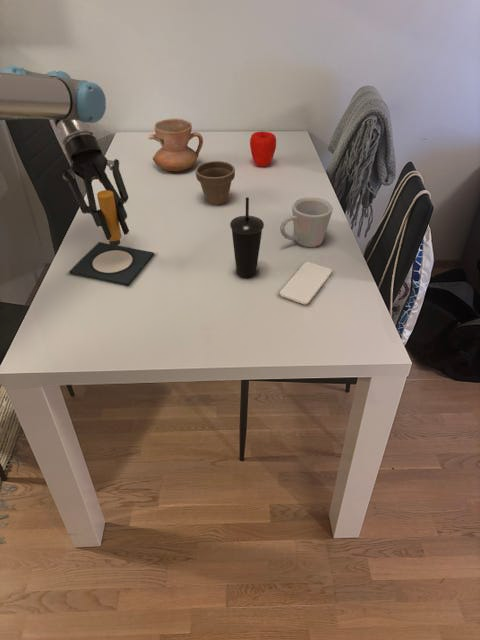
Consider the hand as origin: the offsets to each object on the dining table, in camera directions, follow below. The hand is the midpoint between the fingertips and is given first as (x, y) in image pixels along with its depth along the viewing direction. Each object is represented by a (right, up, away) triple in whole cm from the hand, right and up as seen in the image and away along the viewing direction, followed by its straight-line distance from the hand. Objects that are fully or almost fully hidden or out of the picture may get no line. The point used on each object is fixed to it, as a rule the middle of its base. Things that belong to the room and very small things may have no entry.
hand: (118, 235), depth 110 cm
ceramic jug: (+7, +33, +53) cm, 63 cm away
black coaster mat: (-4, -6, +9) cm, 12 cm away
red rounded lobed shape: (+36, +34, +55) cm, 74 cm away
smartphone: (+44, -11, +3) cm, 46 cm away
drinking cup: (+30, -8, +7) cm, 32 cm away
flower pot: (+21, +17, +35) cm, 44 cm away
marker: (-2, -1, +5) cm, 6 cm away
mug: (+45, +1, +17) cm, 48 cm away
